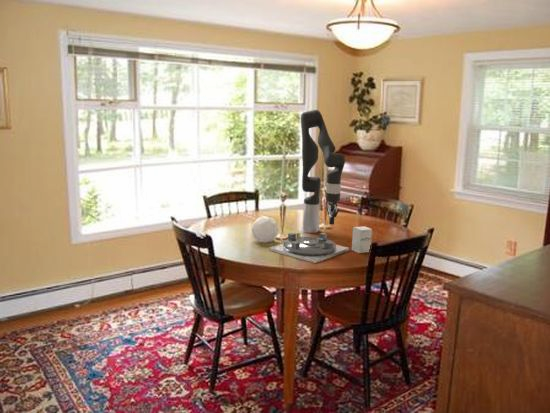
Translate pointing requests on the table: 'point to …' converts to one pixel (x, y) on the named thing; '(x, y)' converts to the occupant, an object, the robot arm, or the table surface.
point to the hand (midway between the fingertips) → (331, 224)
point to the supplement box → (361, 239)
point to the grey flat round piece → (309, 244)
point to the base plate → (309, 258)
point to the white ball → (265, 229)
